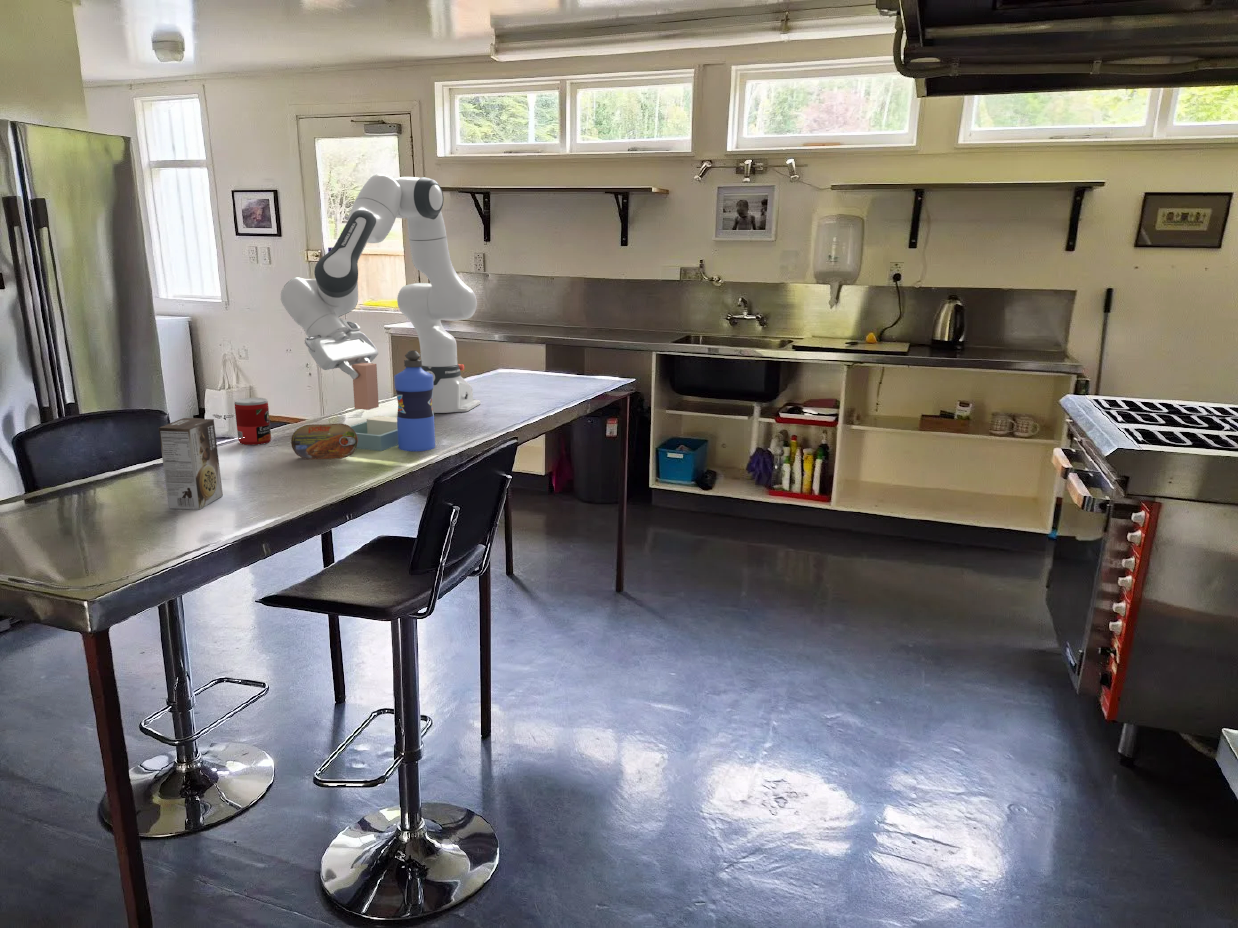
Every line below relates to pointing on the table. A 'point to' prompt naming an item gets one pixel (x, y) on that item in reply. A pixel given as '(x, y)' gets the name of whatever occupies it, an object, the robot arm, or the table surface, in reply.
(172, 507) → the cookie box
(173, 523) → the table surface
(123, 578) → the table surface
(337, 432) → the tin
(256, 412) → the canned food
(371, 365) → the salmon brown rectangular block
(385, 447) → the tote
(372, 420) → the beige rectangular block
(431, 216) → the robot arm
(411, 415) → the water bottle
